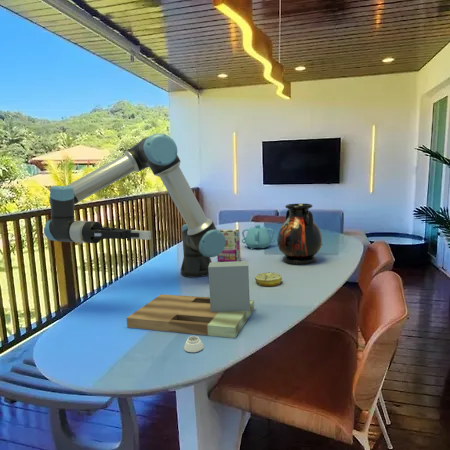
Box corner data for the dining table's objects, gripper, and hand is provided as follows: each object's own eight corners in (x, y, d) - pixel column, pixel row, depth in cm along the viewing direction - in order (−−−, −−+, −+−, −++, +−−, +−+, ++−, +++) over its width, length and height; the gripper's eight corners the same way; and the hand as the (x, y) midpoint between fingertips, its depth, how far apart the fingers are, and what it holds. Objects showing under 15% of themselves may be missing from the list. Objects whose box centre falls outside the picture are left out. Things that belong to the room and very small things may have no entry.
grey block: (212, 304, 119) (209, 262, 117) (249, 303, 118) (247, 261, 116) (210, 311, 113) (208, 267, 111) (250, 310, 112) (248, 265, 110)
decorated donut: (272, 278, 156) (272, 269, 156) (287, 284, 147) (286, 275, 146) (250, 282, 152) (250, 273, 151) (264, 289, 142) (264, 279, 142)
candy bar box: (241, 261, 188) (239, 229, 186) (236, 263, 184) (235, 230, 182) (221, 259, 193) (220, 228, 191) (217, 261, 189) (215, 230, 187)
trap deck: (161, 302, 132) (160, 294, 132) (254, 309, 122) (253, 300, 121) (127, 327, 112) (126, 317, 111) (235, 338, 101) (234, 327, 101)
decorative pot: (277, 247, 217) (277, 224, 215) (254, 251, 209) (253, 227, 207) (261, 243, 231) (261, 222, 229) (239, 247, 223) (238, 224, 222)
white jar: (180, 348, 97) (190, 355, 93) (180, 338, 96) (189, 344, 92) (196, 342, 100) (207, 349, 96) (196, 332, 99) (206, 338, 95)
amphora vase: (269, 260, 187) (267, 205, 183) (303, 254, 197) (302, 201, 193) (295, 269, 168) (294, 207, 164) (331, 262, 178) (331, 204, 174)
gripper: (98, 240, 134) (158, 244, 127) (75, 245, 121) (139, 249, 115) (98, 220, 133) (158, 222, 127) (74, 222, 121) (140, 225, 114)
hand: (149, 235), depth 121 cm, fingers closed
